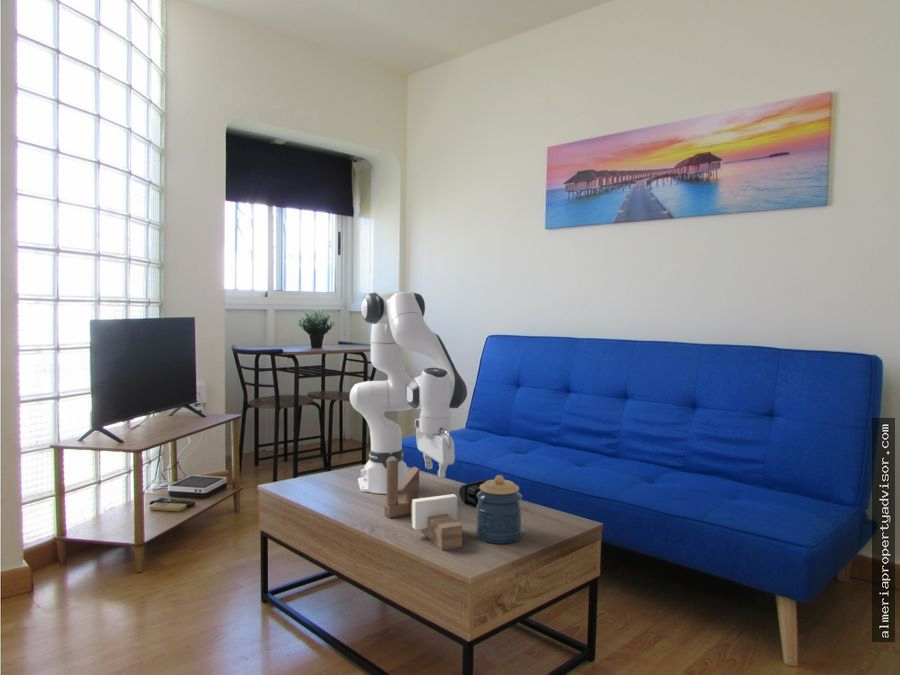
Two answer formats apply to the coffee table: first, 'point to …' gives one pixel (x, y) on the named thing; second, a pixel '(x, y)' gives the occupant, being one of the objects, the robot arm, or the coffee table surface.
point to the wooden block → (400, 490)
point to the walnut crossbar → (443, 531)
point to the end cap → (470, 493)
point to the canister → (499, 511)
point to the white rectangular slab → (432, 509)
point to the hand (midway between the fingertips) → (435, 472)
